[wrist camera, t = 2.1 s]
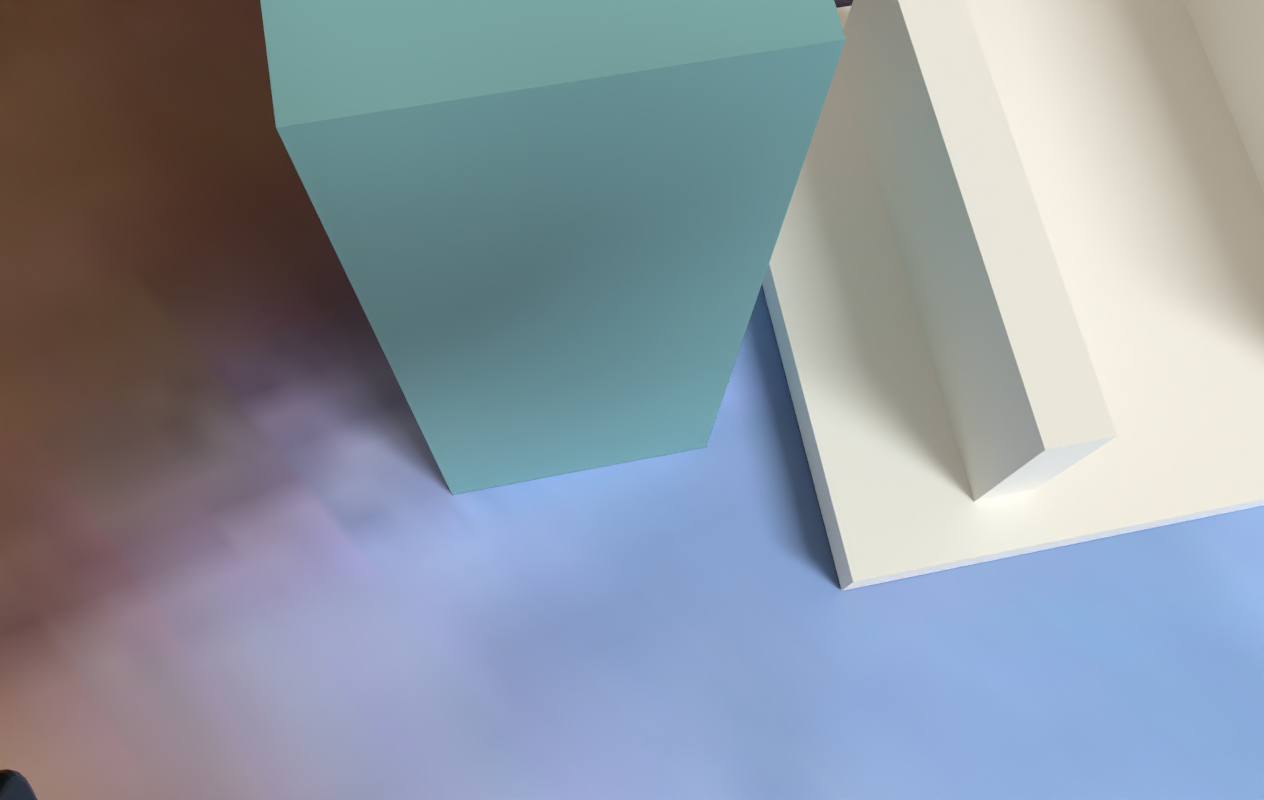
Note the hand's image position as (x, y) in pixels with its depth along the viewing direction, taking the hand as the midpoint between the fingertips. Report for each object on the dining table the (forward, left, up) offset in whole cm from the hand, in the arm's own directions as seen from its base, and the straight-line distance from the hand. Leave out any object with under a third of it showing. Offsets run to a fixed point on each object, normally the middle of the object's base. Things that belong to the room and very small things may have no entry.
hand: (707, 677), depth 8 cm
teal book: (+4, +7, -13) cm, 16 cm away
